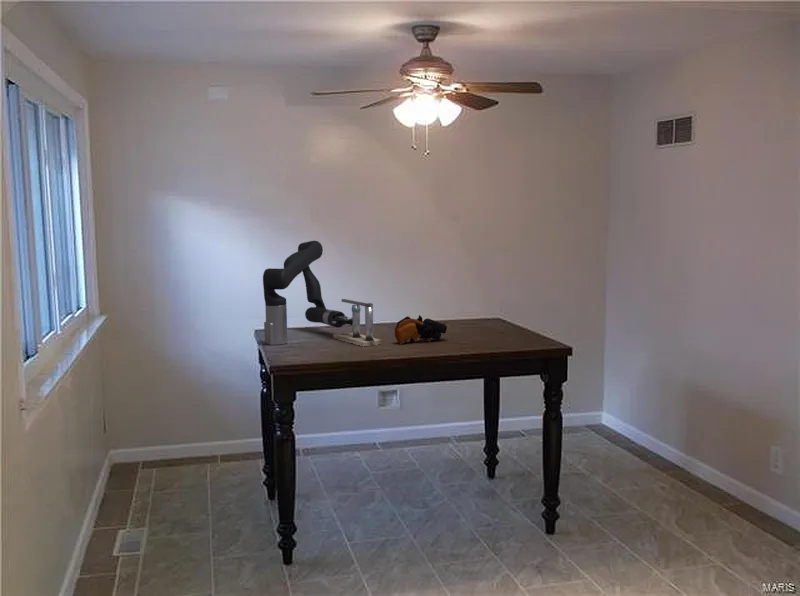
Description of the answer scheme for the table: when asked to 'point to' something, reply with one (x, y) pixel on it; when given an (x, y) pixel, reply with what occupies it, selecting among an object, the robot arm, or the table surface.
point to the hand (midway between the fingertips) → (354, 323)
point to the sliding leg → (356, 320)
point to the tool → (418, 329)
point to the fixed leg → (367, 317)
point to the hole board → (357, 339)
